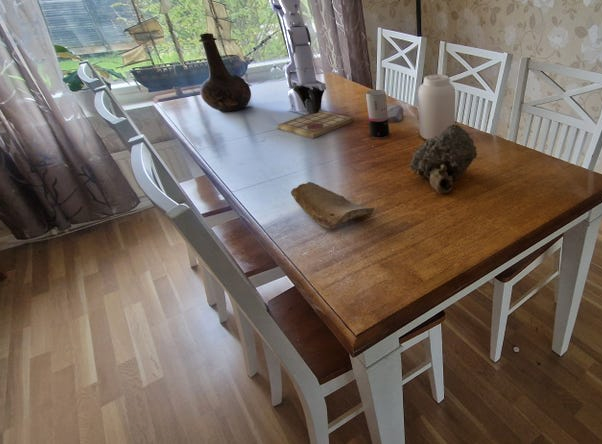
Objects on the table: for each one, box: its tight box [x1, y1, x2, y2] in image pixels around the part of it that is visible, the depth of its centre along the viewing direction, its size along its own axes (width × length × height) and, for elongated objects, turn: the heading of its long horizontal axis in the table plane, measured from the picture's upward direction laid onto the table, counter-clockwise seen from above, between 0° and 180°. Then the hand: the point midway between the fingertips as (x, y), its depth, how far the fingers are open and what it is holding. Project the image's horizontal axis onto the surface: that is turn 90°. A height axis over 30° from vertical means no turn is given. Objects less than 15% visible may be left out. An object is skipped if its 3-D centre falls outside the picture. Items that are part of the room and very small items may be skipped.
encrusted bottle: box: [408, 124, 478, 195], centre depth 100 cm, size 18×14×15 cm
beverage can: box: [365, 89, 390, 139], centre depth 128 cm, size 7×7×15 cm
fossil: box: [290, 181, 375, 230], centre depth 90 cm, size 22×6×10 cm
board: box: [276, 110, 354, 139], centre depth 140 cm, size 18×20×2 cm
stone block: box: [387, 104, 404, 123], centre depth 147 cm, size 12×5×10 cm
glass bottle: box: [198, 32, 252, 112], centre depth 148 cm, size 18×18×28 cm
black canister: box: [304, 97, 321, 114], centre depth 131 cm, size 5×5×5 cm
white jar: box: [417, 73, 456, 141], centre depth 128 cm, size 12×12×20 cm
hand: (312, 108), depth 132 cm, fingers closed on black canister, 4 cm apart
